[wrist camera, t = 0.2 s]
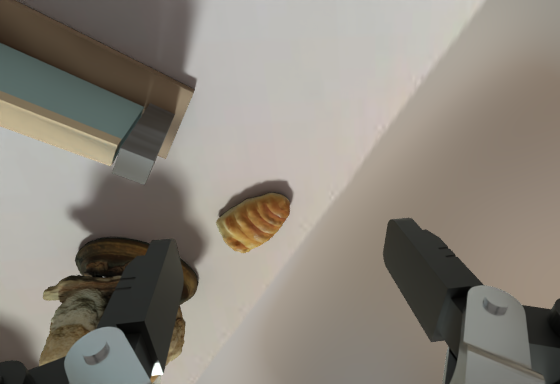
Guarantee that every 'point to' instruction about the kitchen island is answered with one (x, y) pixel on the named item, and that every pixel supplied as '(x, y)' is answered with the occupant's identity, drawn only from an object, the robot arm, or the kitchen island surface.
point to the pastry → (253, 221)
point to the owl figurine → (101, 295)
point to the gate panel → (62, 108)
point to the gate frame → (104, 82)
